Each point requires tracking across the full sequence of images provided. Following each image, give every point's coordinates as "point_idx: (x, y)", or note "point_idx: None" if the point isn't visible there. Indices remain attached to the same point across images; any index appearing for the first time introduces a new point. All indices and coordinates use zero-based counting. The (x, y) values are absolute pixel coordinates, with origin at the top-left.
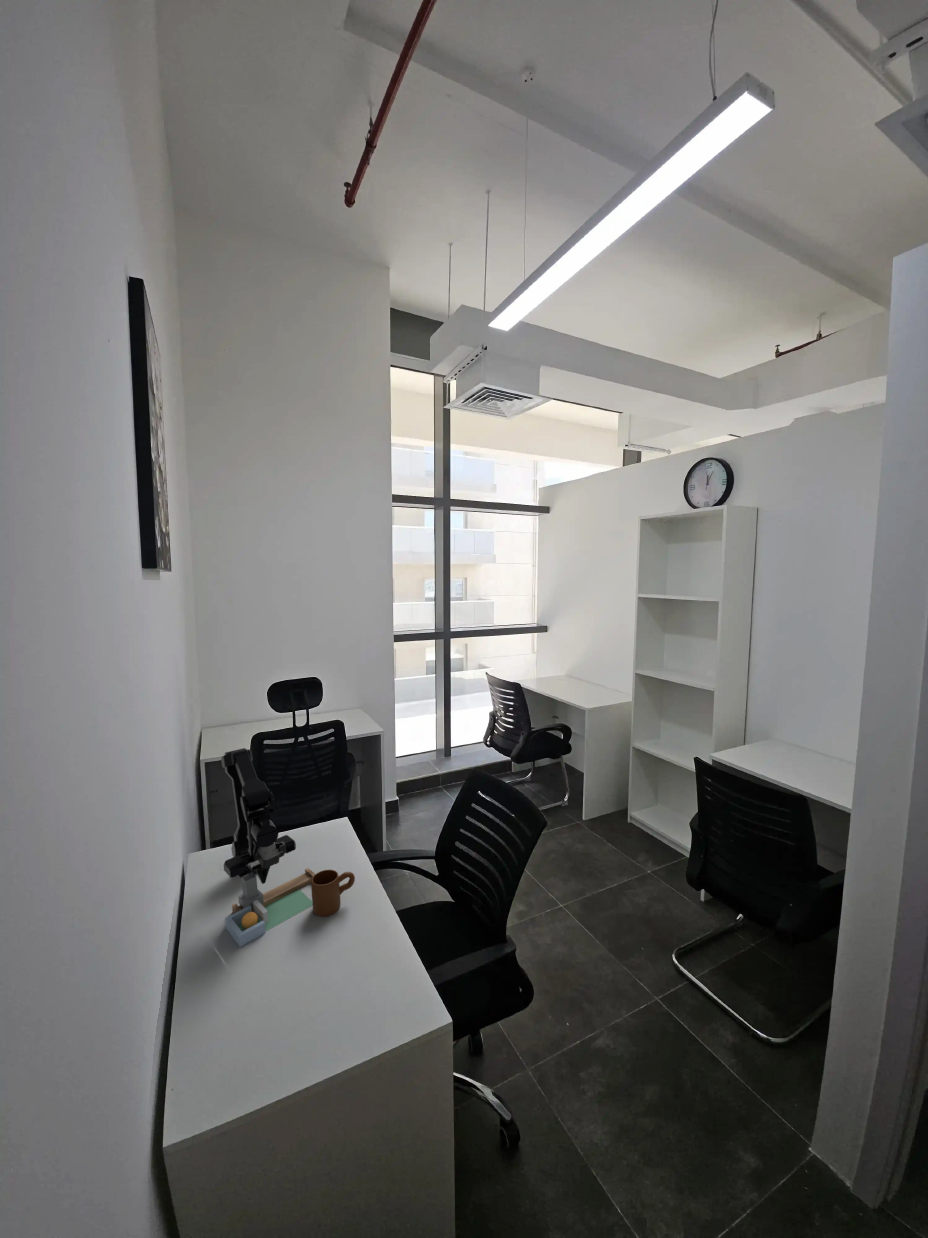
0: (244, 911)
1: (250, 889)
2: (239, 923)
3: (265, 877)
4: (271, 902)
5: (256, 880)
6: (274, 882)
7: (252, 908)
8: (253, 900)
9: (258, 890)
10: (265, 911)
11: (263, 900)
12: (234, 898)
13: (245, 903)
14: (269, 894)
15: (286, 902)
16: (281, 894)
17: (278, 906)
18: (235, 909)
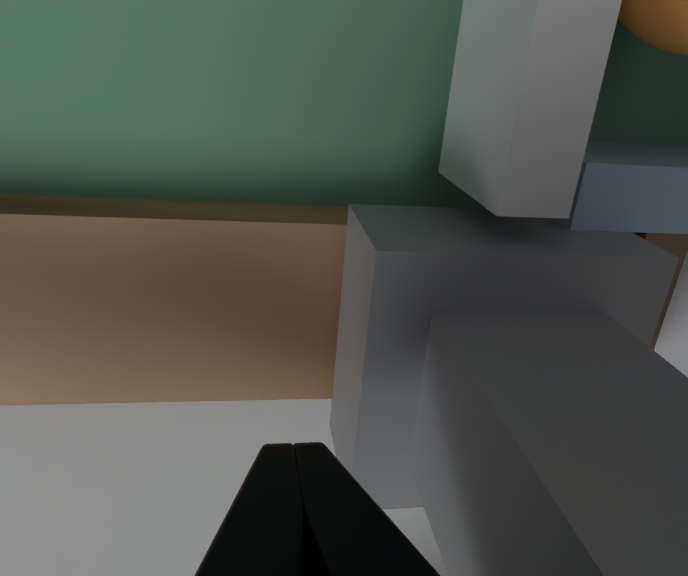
0: (681, 169)
1: (645, 406)
2: (665, 144)
3: (263, 534)
4: (220, 205)
5: (587, 528)
6: (27, 539)
7: None
8: (538, 246)
9: (365, 411)
10: None
11: (312, 272)
12: (438, 556)
13: (668, 257)
14: (194, 330)
15: (42, 26)
16: (45, 213)
17: (180, 42)
18: (657, 334)
